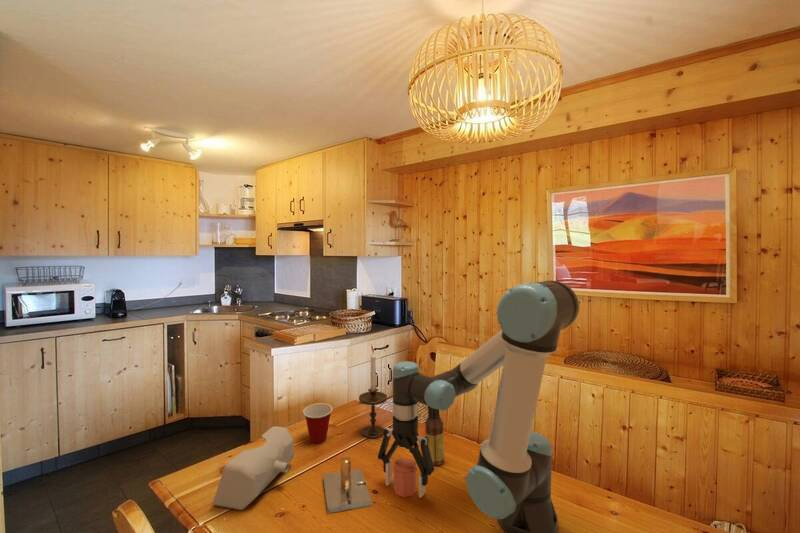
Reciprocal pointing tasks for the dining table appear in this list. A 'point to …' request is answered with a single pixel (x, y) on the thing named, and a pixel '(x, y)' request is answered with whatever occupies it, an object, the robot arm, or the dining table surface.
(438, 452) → the sauce bottle
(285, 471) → the tank
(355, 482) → the plate
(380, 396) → the candlestick
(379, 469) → the dining table surface
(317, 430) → the plastic cup
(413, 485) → the wire nut
